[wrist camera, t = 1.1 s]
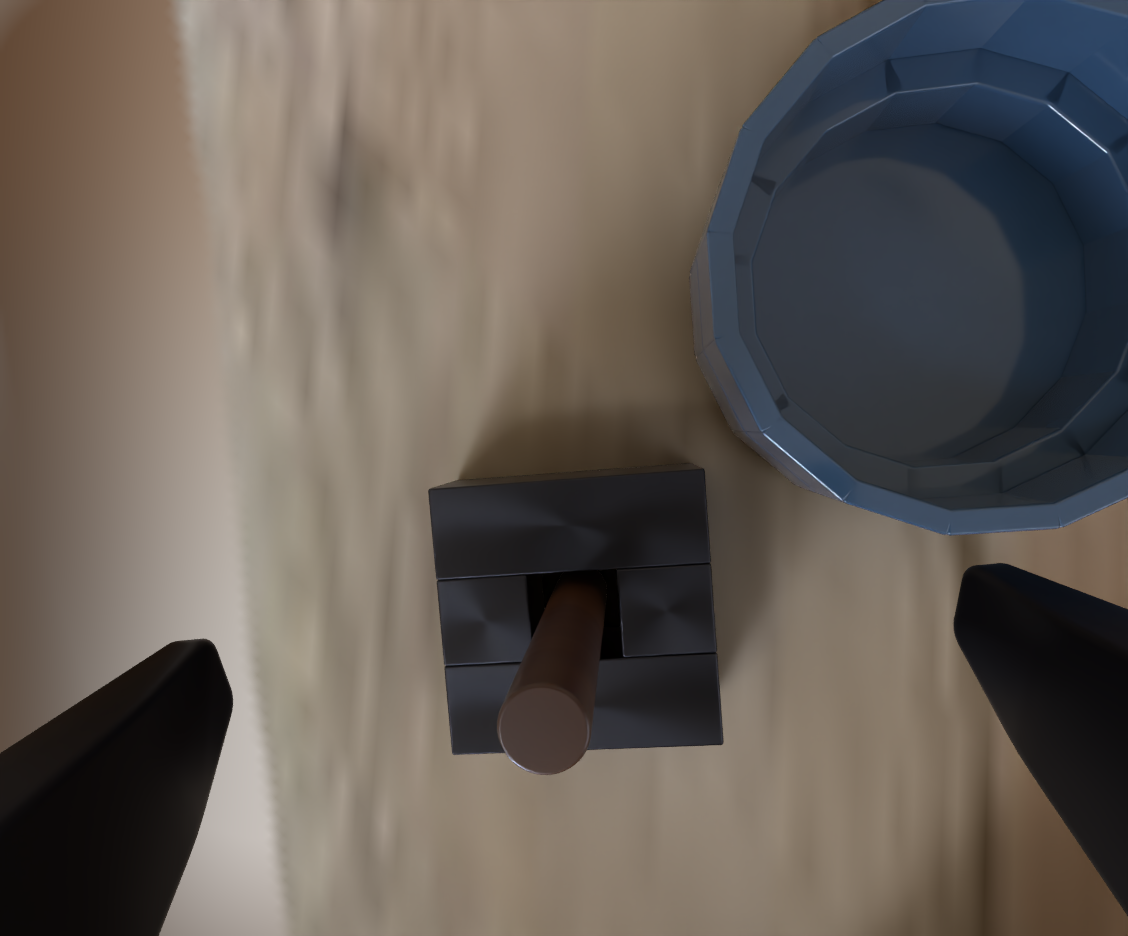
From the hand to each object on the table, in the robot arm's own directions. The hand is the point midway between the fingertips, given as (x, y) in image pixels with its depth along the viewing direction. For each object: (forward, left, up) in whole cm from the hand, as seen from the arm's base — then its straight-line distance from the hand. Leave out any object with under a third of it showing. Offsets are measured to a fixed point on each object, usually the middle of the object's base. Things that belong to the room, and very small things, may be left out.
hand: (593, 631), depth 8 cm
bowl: (+5, -9, -13) cm, 17 cm away
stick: (-3, +1, -13) cm, 13 cm away
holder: (-3, +1, -13) cm, 13 cm away
